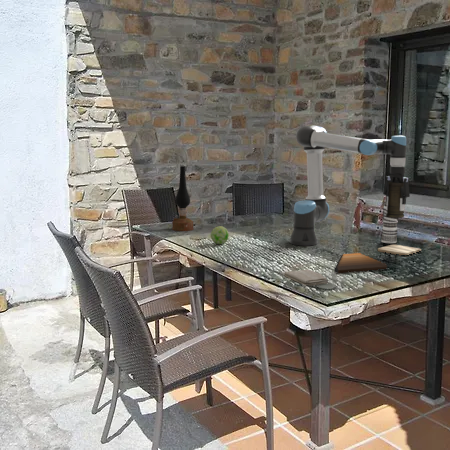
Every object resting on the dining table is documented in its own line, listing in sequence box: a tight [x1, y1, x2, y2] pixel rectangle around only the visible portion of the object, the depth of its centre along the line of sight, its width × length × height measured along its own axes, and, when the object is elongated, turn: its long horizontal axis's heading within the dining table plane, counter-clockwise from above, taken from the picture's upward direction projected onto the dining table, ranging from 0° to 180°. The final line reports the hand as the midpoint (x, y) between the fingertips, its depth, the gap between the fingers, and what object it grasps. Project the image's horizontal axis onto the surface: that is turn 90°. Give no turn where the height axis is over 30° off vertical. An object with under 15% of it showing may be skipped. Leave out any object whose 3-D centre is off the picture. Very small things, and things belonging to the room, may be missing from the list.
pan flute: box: [334, 252, 388, 274], centre depth 269 cm, size 25×3×25 cm
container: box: [386, 181, 405, 219], centre depth 298 cm, size 9×9×18 cm
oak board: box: [377, 243, 422, 256], centre depth 300 cm, size 16×16×2 cm
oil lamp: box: [171, 165, 194, 232], centre depth 355 cm, size 14×15×40 cm
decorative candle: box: [380, 198, 400, 244], centre depth 323 cm, size 9×9×25 cm
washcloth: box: [284, 268, 329, 287], centre depth 244 cm, size 12×18×3 cm, turn 26°
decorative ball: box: [210, 225, 230, 245], centre depth 313 cm, size 10×10×10 cm
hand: (395, 209), depth 299 cm, fingers closed on container, 8 cm apart
